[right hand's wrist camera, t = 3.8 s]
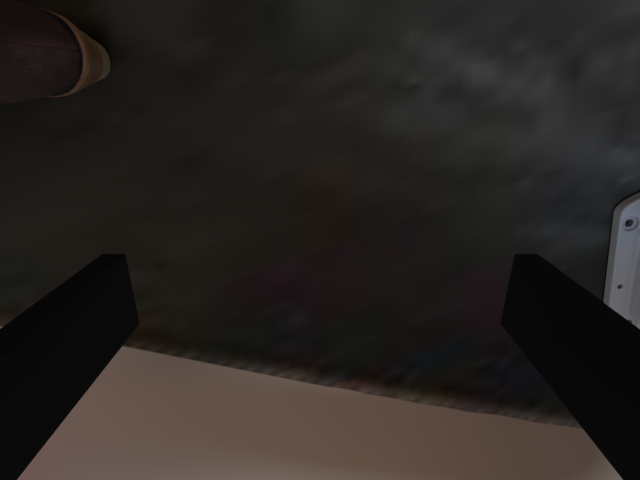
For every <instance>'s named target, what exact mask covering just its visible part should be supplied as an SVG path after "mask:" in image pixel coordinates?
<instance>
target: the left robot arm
mask: <svg viewBox="0 0 640 480" xmlns="http://www.w3.org/2000/svg"><path fill="white" fill-rule="evenodd" d="M627 220H628V222H627V223H626V221H627ZM625 223H626V224H625ZM603 302H604V303H605V304H606V305H608V306H609V307H610V308H612V309H613V310H614V311H616V312H617V313H619V314H620V315H621V316H623V317H624V318H625V319H627V320H628V321H629V322H631V323H632V324H634V325H635V326H636V327H638V328H639V329H640V192H639V193H637V194H635V195H633V196H631V197H629V198H627V199H625V200H624V201H622V202H621V203H620V204H618V205H617V207H616V208H615V210H614V213H613V221H612V230H611V239H610V248H609V256H608V265H607V274H606V283H605V291H604V300H603Z"/></svg>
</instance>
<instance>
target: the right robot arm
mask: <svg viewBox="0 0 640 480" xmlns="http://www.w3.org/2000/svg"><path fill="white" fill-rule="evenodd" d="M138 325H139V319H138V314H137V310H136V305H135V300H134V295H133V290H132V286H131V281H130V276H129V271H128V266H127V262H126V257H125V254H102V255H101V256H99V257H98V258H96V259H95V260H94V261H92V262H91V263H90V264H88V265H87V266H86V267H84V268H83V269H81V270H80V271H79V272H77V273H76V274H75V275H73V276H72V277H71V278H69V279H68V280H66V281H65V282H64V283H62V284H61V285H60V286H58V287H57V288H56V289H54V290H53V291H51V292H50V293H49V294H47V295H46V296H45V297H43V298H42V299H41V300H39V301H38V302H36V303H35V304H34V305H32V306H31V307H30V308H28V309H27V310H26V311H24V312H23V313H21V314H20V315H19V316H17V317H16V318H15V319H13V320H12V321H11V322H9V323H8V324H6V325H5V326H4V327H2V328H1V329H0V480H17V479H18V477H19V476H20V475H21V474H22V472H23V471H24V470H25V469H26V467H27V466H28V465H29V463H30V462H31V461H32V460H33V458H34V457H35V456H36V455H37V453H38V452H39V451H40V450H41V448H42V447H43V446H44V444H45V443H46V442H47V441H48V439H49V438H50V437H51V435H52V434H53V433H54V432H55V430H56V429H57V428H58V427H59V425H60V424H61V423H62V422H63V420H64V419H65V418H66V416H67V415H68V414H69V413H70V411H71V410H72V409H73V408H74V406H75V405H76V404H77V402H78V401H79V400H80V399H81V397H82V396H83V395H84V394H85V392H86V391H87V390H88V389H89V387H90V386H91V385H92V383H93V382H94V381H95V380H96V378H97V377H98V376H99V375H100V373H101V372H102V371H103V370H104V368H105V367H106V366H107V364H108V363H109V362H110V361H111V359H112V358H113V357H114V356H115V354H116V353H117V352H118V350H119V349H120V348H121V347H122V345H123V344H124V343H125V342H126V340H127V339H128V338H129V337H130V335H131V334H132V333H133V331H134V330H135V329H136V328H137V326H138ZM501 325H502V326H503V328H504V329H505V330H506V331H507V333H508V334H509V335H510V337H511V338H512V339H513V340H514V342H515V343H516V344H517V345H518V347H519V348H520V349H521V350H522V352H523V353H524V354H525V356H526V357H527V358H528V359H529V361H530V362H531V363H532V364H533V366H534V367H535V368H536V370H537V371H538V372H539V373H540V375H541V376H542V377H543V378H544V380H545V381H546V382H547V383H548V385H549V386H550V387H551V389H552V390H553V391H554V392H555V394H556V395H557V396H558V397H559V399H560V400H561V401H562V403H563V404H564V405H565V406H566V408H567V409H568V410H569V411H570V413H571V414H572V415H573V417H574V418H575V419H576V420H577V422H578V423H579V424H580V425H581V427H582V428H583V429H584V430H585V432H586V433H587V434H588V436H589V437H590V438H591V439H592V441H593V442H594V443H595V444H596V446H597V447H598V448H599V449H600V451H601V452H602V453H603V455H604V456H605V457H606V458H607V460H608V461H609V462H610V463H611V465H612V466H613V467H614V469H615V470H616V471H617V472H618V474H619V475H620V476H621V477H622V479H623V480H640V329H639V328H638V327H636V326H635V325H634V324H632V323H631V322H629V321H628V320H627V319H625V318H624V317H623V316H621V315H620V314H619V313H617V312H616V311H614V310H613V309H612V308H610V307H609V306H608V305H606V304H605V303H604V302H602V301H601V300H599V299H598V298H597V297H595V296H594V295H593V294H591V293H590V292H589V291H587V290H586V289H584V288H583V287H582V286H580V285H579V284H578V283H576V282H575V281H574V280H572V279H571V278H569V277H568V276H567V275H565V274H564V273H563V272H561V271H560V270H559V269H557V268H556V267H554V266H553V265H552V264H550V263H549V262H548V261H546V260H545V259H544V258H542V257H541V256H539V255H538V254H515V257H514V262H513V266H512V271H511V276H510V281H509V286H508V290H507V295H506V300H505V305H504V310H503V314H502V319H501Z"/></svg>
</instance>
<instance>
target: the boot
mask: <svg viewBox="0 0 640 480" xmlns="http://www.w3.org/2000/svg"><path fill="white" fill-rule="evenodd" d="M110 65H111V64H110V58H109V56H108V53H107V52H106V50H105V49H104V48H103V47H102V46H101V45H100V44H99V43H97V42H96V41H94V40H93V39H91V38H90V37H89V36H88V35H87V34H86V33H84V32H82V31H81V30H79V29H78V28H77V27H76V26H75V25H74V24H73V23H71V22H70V21H69V20H68V19H66V18H65V17H63V16H61V15H59V14H57V13H55V12H52V11H49V10H45V9H41V8H35V7H32V6H30V5H27V4H24V3H21V2H17V1H14V0H0V104H2V103H17V102H25V101H30V100H35V99H39V98H44V97H62V96H68V95H70V94H73V93H75V92H77V91H79V90H81V89H83V88H85V87H87V86H89V85H91V84H93V83H94V82H97V81H99V80H102V79H104V78H105V77H106V76H107V75H108V74H109V72H110Z"/></svg>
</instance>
